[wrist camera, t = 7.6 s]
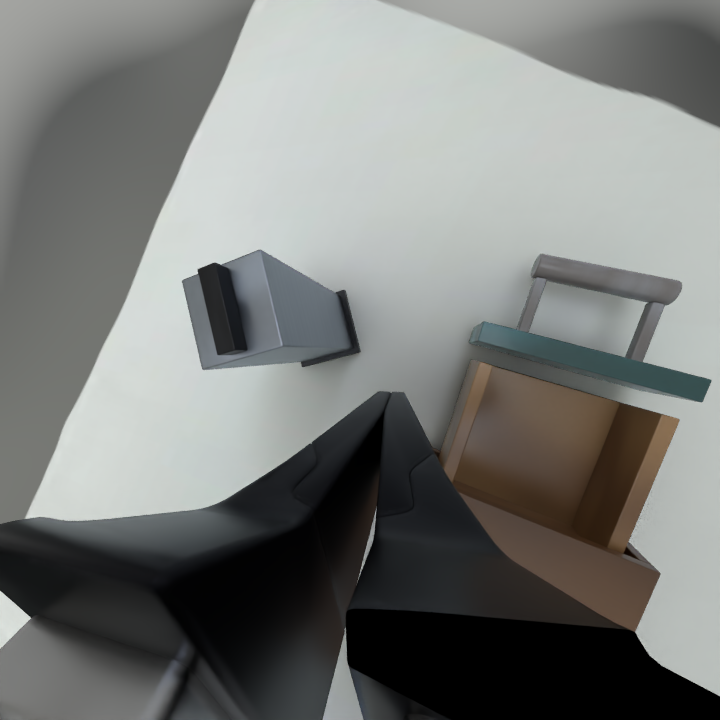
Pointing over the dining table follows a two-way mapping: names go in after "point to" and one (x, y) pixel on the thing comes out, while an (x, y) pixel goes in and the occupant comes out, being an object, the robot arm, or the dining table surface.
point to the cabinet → (571, 561)
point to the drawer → (567, 416)
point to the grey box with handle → (266, 315)
